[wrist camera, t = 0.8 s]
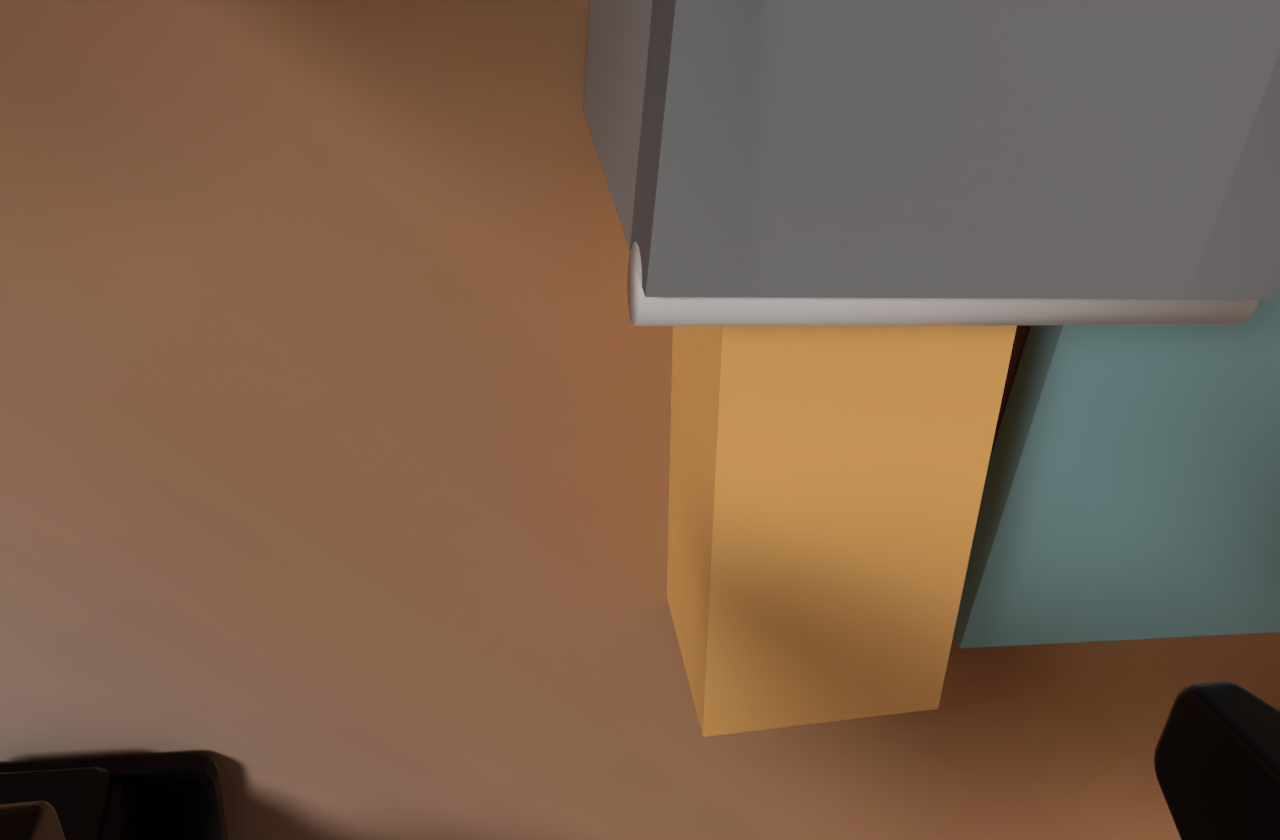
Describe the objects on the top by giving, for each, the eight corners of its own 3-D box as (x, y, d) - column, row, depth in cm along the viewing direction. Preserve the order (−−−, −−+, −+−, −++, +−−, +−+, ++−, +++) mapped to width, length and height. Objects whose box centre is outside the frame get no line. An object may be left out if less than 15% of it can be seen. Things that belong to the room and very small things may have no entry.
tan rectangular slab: (871, 565, 26) (938, 709, 23) (664, 586, 25) (702, 737, 22) (967, -92, 18) (1087, -19, 15) (678, -82, 18) (739, -6, 15)
